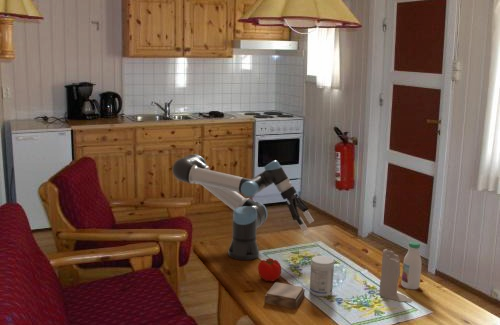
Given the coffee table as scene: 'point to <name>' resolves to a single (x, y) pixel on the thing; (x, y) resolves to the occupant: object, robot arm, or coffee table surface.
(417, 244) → the milk bottle
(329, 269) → the supplement tub
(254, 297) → the coffee table surface
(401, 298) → the beige bookend
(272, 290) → the plinth
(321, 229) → the coffee table surface
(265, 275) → the tomato
